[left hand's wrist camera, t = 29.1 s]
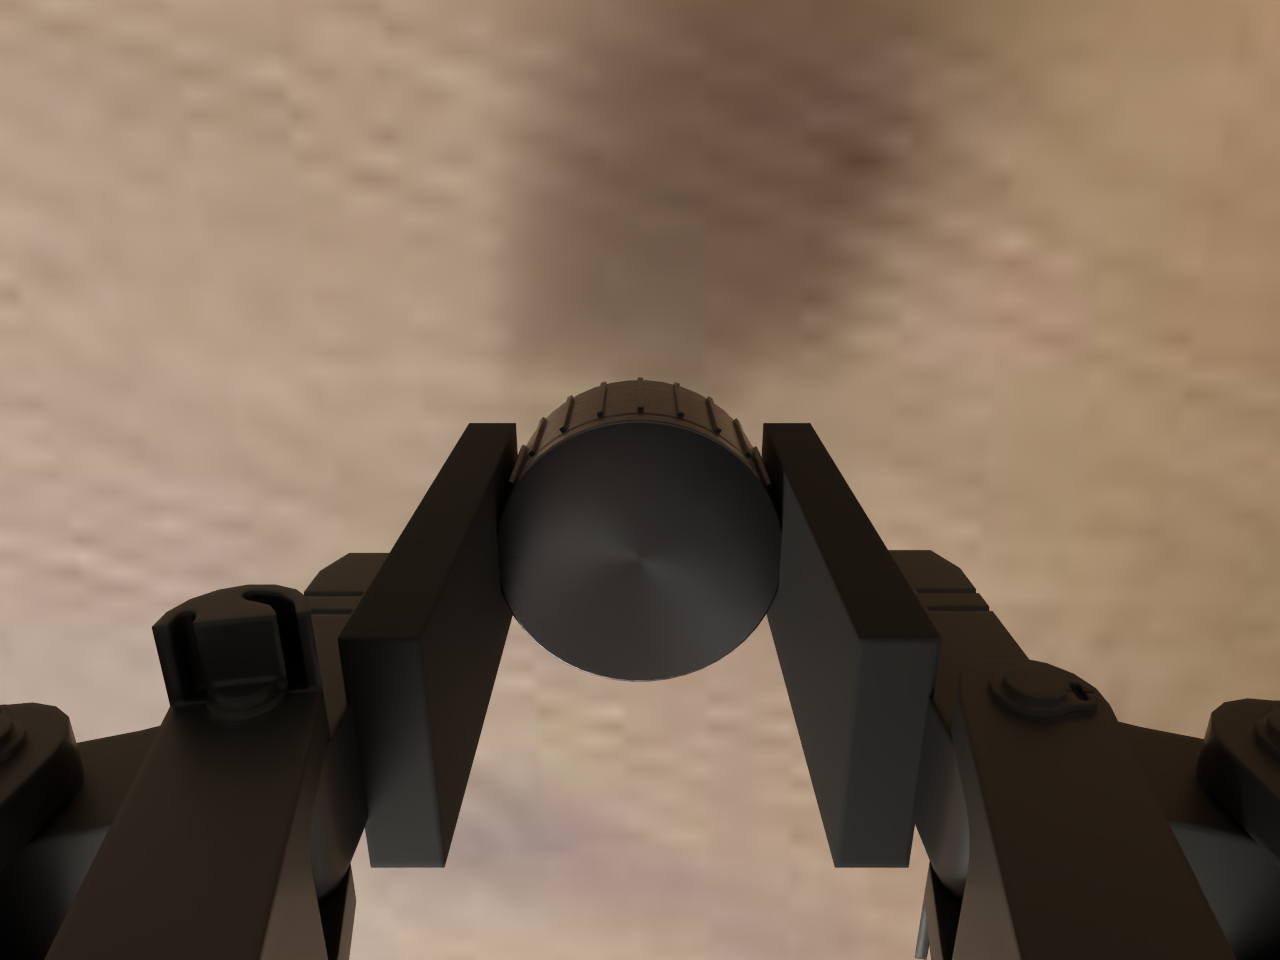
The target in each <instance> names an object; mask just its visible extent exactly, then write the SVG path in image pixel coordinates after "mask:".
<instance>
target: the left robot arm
mask: <svg viewBox="0 0 1280 960" xmlns="http://www.w3.org/2000/svg"><path fill="white" fill-rule="evenodd" d="M517 457H518V453H517V435H516V423H469V425H468V426H467V428H466V429H465V431H464V433H463V434H462V436H461V438H460V439H459V441H458V442H457V444H456V446H455V447H454V449H453V451H452V452H451V454H450V456H449V457H448V459H447V460H446V462H445V464H444V465H443V467H442V469H441V470H440V472H439V473H438V475H437V477H436V478H435V480H434V482H433V483H432V485H431V486H430V488H429V490H428V491H427V493H426V495H425V496H424V498H423V500H422V501H421V503H420V504H419V506H418V508H417V509H416V511H415V513H414V514H413V516H412V517H411V519H410V521H409V522H408V524H407V526H406V527H405V529H404V530H403V532H402V534H401V535H400V537H399V539H398V540H397V542H396V543H395V545H394V547H393V548H392V550H391V552H390V553H348V554H347V555H345V556H344V557H342V558H340V559H339V560H337V561H335V562H334V563H332V564H331V565H329V566H327V567H326V568H324V569H323V570H321V571H320V572H319V573H318V574H317V576H316V577H315V578H314V580H313V581H312V582H311V584H310V585H309V586H308V588H307V589H306V590H305V592H304V595H303V594H302V593H300V592H299V591H298V590H296V589H292V588H288V587H283V586H279V585H244V586H238V587H232V588H226V589H220V590H216V591H213V592H210V593H207V594H204V595H201V596H198V597H195V598H192V599H190V600H188V601H186V602H184V603H183V604H181V605H179V606H177V607H175V608H173V609H172V610H170V611H168V612H166V613H165V614H164V615H163V616H162V617H161V618H160V619H159V620H158V621H157V622H156V623H155V624H154V625H153V626H152V630H153V635H154V639H155V643H156V647H157V652H158V656H159V660H160V664H161V668H162V673H163V677H164V681H165V685H166V690H167V694H168V698H169V702H170V708H169V710H168V712H167V714H166V716H165V718H164V720H163V722H162V724H161V726H157V727H153V728H149V729H145V730H141V731H137V732H131V733H126V734H121V735H116V736H111V737H105V738H100V739H95V740H90V741H85V742H80V743H76V740H75V737H74V733H73V730H72V726H71V723H70V719H69V717H68V716H67V715H66V714H65V713H64V712H62V711H61V710H60V709H59V708H57V707H56V706H50V705H44V704H38V703H22V704H11V705H0V960H349V955H350V947H351V939H352V931H353V923H354V915H355V907H356V896H355V889H354V882H353V876H352V870H351V863H350V862H351V860H352V857H353V855H354V852H355V850H356V847H357V845H358V843H359V840H360V838H361V835H362V833H363V830H364V828H365V831H366V837H367V844H368V851H369V858H370V865H371V867H445V864H446V860H447V856H448V852H449V849H450V845H451V841H452V838H453V834H454V830H455V827H456V823H457V819H458V815H459V812H460V808H461V804H462V801H463V797H464V793H465V790H466V786H467V782H468V778H469V775H470V771H471V767H472V764H473V760H474V756H475V752H476V749H477V745H478V741H479V738H480V734H481V730H482V727H483V723H484V719H485V715H486V712H487V708H488V704H489V701H490V697H491V693H492V690H493V686H494V682H495V678H496V675H497V671H498V667H499V664H500V660H501V656H502V653H503V649H504V645H505V641H506V638H507V634H508V630H509V627H510V623H511V619H512V616H513V614H512V612H511V610H510V608H509V607H508V605H507V603H506V601H505V599H504V596H503V593H502V591H501V584H500V570H499V555H498V540H497V524H498V519H499V516H500V513H501V510H502V508H503V505H504V502H505V500H506V497H507V494H508V492H509V489H510V487H509V486H507V483H508V480H509V478H510V475H511V473H512V470H513V467H514V465H515V462H516V460H517ZM762 460H763V463H764V465H765V468H766V470H767V473H768V475H769V478H770V481H771V483H772V486H773V488H770V492H771V494H772V497H773V500H774V502H775V505H776V507H777V510H778V513H779V516H780V520H781V524H782V543H781V559H780V574H779V587H778V590H777V593H776V596H775V598H774V600H773V602H772V604H771V606H770V608H769V610H768V612H767V618H768V621H769V625H770V629H771V632H772V636H773V640H774V644H775V647H776V651H777V655H778V658H779V662H780V666H781V669H782V673H783V677H784V681H785V684H786V688H787V692H788V695H789V699H790V703H791V706H792V710H793V714H794V718H795V721H796V725H797V729H798V732H799V736H800V740H801V744H802V747H803V751H804V755H805V758H806V762H807V766H808V769H809V773H810V777H811V781H812V784H813V788H814V792H815V795H816V799H817V803H818V806H819V810H820V814H821V818H822V821H823V825H824V829H825V832H826V836H827V840H828V844H829V847H830V851H831V855H832V858H833V862H834V866H835V867H885V868H908V867H909V861H910V854H911V847H912V840H913V833H914V827H915V825H916V827H917V830H918V832H919V835H920V837H921V840H922V842H923V844H924V847H925V849H926V852H927V854H928V857H929V859H930V863H929V870H928V876H927V882H926V889H925V895H924V901H923V908H922V914H921V920H920V927H919V933H918V939H917V946H916V953H915V958H919V959H925V960H927V954H928V949H929V945H930V953H931V960H1280V701H1276V700H1275V701H1271V700H1260V699H1248V698H1247V699H1241V700H1235V701H1230V702H1224V703H1223V704H1222V705H1221V706H1219V707H1218V708H1217V709H1216V710H1214V711H1213V712H1212V713H1211V717H1210V720H1209V724H1208V727H1207V731H1206V734H1205V738H1204V739H1200V738H1195V737H1190V736H1184V735H1179V734H1174V733H1169V732H1164V731H1158V730H1153V729H1148V728H1143V727H1138V726H1134V725H1130V724H1126V723H1122V722H1118V720H1117V718H1116V716H1115V714H1114V712H1113V710H1112V708H1111V706H1110V705H1109V703H1108V702H1107V701H1106V700H1105V699H1104V697H1103V696H1102V695H1101V694H1100V693H1099V691H1098V690H1097V689H1096V688H1095V687H1093V686H1092V685H1090V684H1089V683H1087V682H1086V681H1084V680H1082V679H1081V678H1079V677H1078V676H1076V675H1075V674H1073V673H1070V672H1068V671H1065V670H1063V669H1060V668H1058V667H1055V666H1053V665H1050V664H1048V663H1043V662H1038V661H1033V660H1029V659H1028V657H1027V656H1026V655H1025V653H1024V652H1023V651H1022V649H1021V648H1020V647H1019V645H1018V644H1017V643H1016V641H1015V640H1014V639H1013V638H1012V636H1011V635H1010V634H1009V632H1008V631H1007V630H1006V628H1005V627H1004V626H1003V624H1002V623H1001V622H1000V620H999V619H998V618H997V616H996V615H995V614H994V612H993V611H989V606H988V605H987V603H986V602H985V601H984V599H983V598H982V597H981V595H980V594H979V593H976V589H975V587H974V586H973V585H972V583H971V582H970V581H969V579H968V578H967V577H966V575H965V574H964V573H963V572H962V570H961V569H960V568H959V567H957V566H956V565H954V564H952V563H951V562H949V561H947V560H946V559H944V558H943V557H941V556H939V555H938V554H936V553H934V552H933V551H931V550H888V549H887V548H886V546H885V545H884V543H883V541H882V540H881V538H880V536H879V535H878V533H877V531H876V530H875V528H874V527H873V525H872V523H871V522H870V520H869V518H868V517H867V515H866V514H865V512H864V510H863V509H862V507H861V505H860V504H859V502H858V501H857V499H856V497H855V496H854V494H853V492H852V491H851V489H850V487H849V486H848V484H847V483H846V481H845V479H844V478H843V476H842V474H841V473H840V471H839V470H838V468H837V466H836V465H835V463H834V461H833V460H832V458H831V456H830V455H829V453H828V452H827V450H826V448H825V447H824V445H823V443H822V442H821V440H820V439H819V437H818V435H817V434H816V432H815V430H814V429H813V427H812V426H811V424H810V423H764V424H763V443H762Z"/></svg>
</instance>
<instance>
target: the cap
mask: <svg viewBox="0 0 1280 960" xmlns="http://www.w3.org/2000/svg"><path fill="white" fill-rule="evenodd" d="M507 486H509V487H510V489H509V492H508V494H507V497H506V500H505V502H504V505H503V508H502V510H501V513H500V516H499V519H498V524H497V540H498V555H499V570H500V584H501V591H502V593H503V596H504V599H505V601H506V603H507V605H508V607H509V608H510V610H511V612H512V614H513V616H514V617H515V619H516V620H517V621H518V623H519V624H520V625H521V627H522V628H523V629H524V631H525V632H526V633H527V634H528V635H529V636H530V637H531V638H532V639H533V640H534V641H535V642H536V643H537V644H538V645H540V646H541V647H542V648H543V649H544V650H546V651H547V652H548V653H549V654H551V655H553V656H554V657H556V658H557V659H559V660H561V661H562V662H564V663H566V664H568V665H570V666H572V667H574V668H576V669H578V670H581V671H584V672H587V673H590V674H593V675H596V676H599V677H604V678H609V679H613V680H622V681H632V682H634V681H657V680H665V679H670V678H675V677H679V676H683V675H686V674H689V673H692V672H695V671H697V670H700V669H703V668H705V667H707V666H709V665H711V664H713V663H715V662H717V661H718V660H720V659H721V658H723V657H724V656H726V655H727V654H729V653H730V652H732V651H733V650H734V649H735V648H737V647H738V646H739V645H740V644H741V643H743V642H744V641H745V640H746V639H747V638H748V637H749V635H750V634H751V633H752V632H753V631H754V630H755V629H756V628H757V626H758V625H759V624H760V622H761V621H762V619H763V618H764V616H765V615H766V614H767V612H768V610H769V608H770V606H771V604H772V602H773V600H774V598H775V596H776V593H777V590H778V587H779V574H780V559H781V543H782V524H781V520H780V516H779V513H778V510H777V507H776V505H775V502H774V500H773V497H772V494H771V492H770V488H773V486H772V483H771V481H770V478H769V475H768V473H767V470H766V468H765V465H764V463H763V460H762V458H761V455H760V453H759V450H758V448H757V447H754V448H753V447H752V445H751V443H750V442H749V440H748V438H747V436H746V435H745V433H744V432H743V429H742V427H741V424H740V421H739V420H738V419H737V418H736V419H735V420H733V419H732V418H731V417H730V416H729V415H728V414H727V413H726V412H725V411H724V410H722V409H721V408H720V407H718V406H717V405H716V404H714V402H713V399H712V398H711V397H709V396H708V397H707V399H706V398H705V397H703V396H701V395H699V394H697V393H695V392H693V391H690V390H688V389H685V388H683V387H680V384H679V383H676V382H674V385H672V384H668V383H664V382H656V381H648V380H643V378H638V380H633V381H622V382H615V383H610V384H607V383H606V382H603V383H601V386H599V387H595V388H593V389H591V390H588V391H586V392H583V393H581V394H579V395H577V396H575V397H574V398H573V396H572V395H571V396H569V397H568V398H567V401H566V402H565V403H564V404H563V405H561V406H560V407H559V408H557V409H556V410H555V411H554V412H552V413H551V414H550V415H549V416H548V417H547V418H546V419H545V418H544V417H543V418H542V419H541V420H540V422H539V425H538V428H537V430H536V431H535V433H534V434H533V435H532V437H531V438H530V440H529V442H528V444H527V446H525V445H522V447H521V449H520V452H519V454H518V457H517V460H516V462H515V465H514V467H513V470H512V473H511V475H510V478H509V480H508V483H507Z"/></svg>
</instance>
